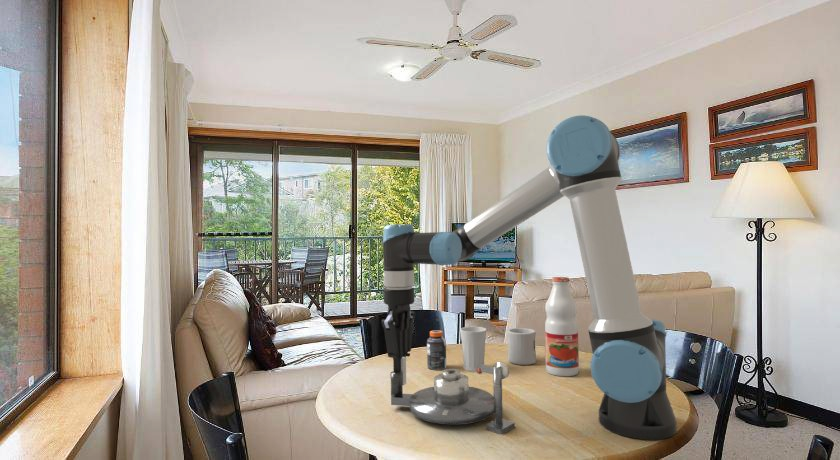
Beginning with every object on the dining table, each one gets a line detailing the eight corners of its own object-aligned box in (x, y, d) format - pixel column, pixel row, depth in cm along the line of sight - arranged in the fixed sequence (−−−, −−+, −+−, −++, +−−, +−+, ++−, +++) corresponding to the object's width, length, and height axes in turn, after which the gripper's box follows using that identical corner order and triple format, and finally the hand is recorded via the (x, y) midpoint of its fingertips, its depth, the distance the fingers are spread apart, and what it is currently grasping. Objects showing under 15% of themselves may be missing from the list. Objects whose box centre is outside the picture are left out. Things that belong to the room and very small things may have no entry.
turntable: (498, 395, 118) (498, 365, 118) (491, 427, 98) (491, 392, 98) (402, 388, 123) (402, 360, 123) (378, 418, 104) (377, 385, 104)
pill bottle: (449, 366, 147) (449, 330, 147) (440, 371, 142) (439, 333, 142) (433, 363, 150) (432, 328, 150) (423, 368, 145) (423, 331, 145)
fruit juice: (572, 367, 144) (570, 275, 144) (583, 376, 135) (582, 278, 135) (541, 368, 144) (540, 276, 144) (551, 377, 135) (549, 279, 135)
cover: (471, 394, 113) (470, 367, 113) (465, 407, 105) (465, 377, 105) (438, 392, 115) (438, 365, 115) (430, 404, 107) (430, 375, 107)
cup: (486, 372, 140) (485, 332, 140) (459, 371, 142) (458, 331, 142) (487, 365, 148) (487, 326, 148) (462, 364, 150) (461, 326, 150)
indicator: (514, 427, 101) (513, 363, 101) (501, 434, 98) (500, 368, 98) (485, 417, 107) (484, 356, 107) (471, 424, 103) (470, 361, 103)
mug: (539, 365, 147) (539, 333, 147) (510, 366, 147) (509, 333, 147) (530, 355, 159) (530, 325, 159) (503, 355, 159) (503, 325, 159)
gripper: (398, 283, 123) (399, 374, 123) (371, 289, 111) (372, 389, 111) (424, 285, 119) (425, 378, 120) (398, 291, 108) (400, 394, 108)
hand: (399, 383), depth 115 cm, fingers closed
